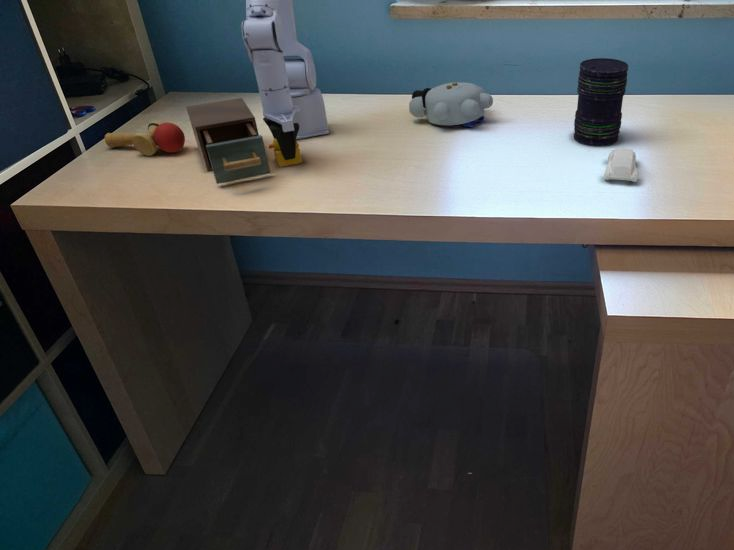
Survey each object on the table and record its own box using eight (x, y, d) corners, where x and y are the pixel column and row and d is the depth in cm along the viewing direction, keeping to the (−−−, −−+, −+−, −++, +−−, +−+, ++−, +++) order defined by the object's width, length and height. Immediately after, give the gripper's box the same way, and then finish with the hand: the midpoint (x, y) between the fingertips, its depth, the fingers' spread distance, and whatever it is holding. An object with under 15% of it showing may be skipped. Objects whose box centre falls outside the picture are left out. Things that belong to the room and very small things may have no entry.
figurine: (507, 113, 149) (440, 107, 159) (504, 75, 144) (436, 71, 154) (463, 137, 138) (395, 128, 149) (459, 96, 133) (388, 90, 144)
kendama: (102, 161, 136) (174, 155, 131) (91, 130, 133) (164, 123, 128) (127, 153, 142) (196, 147, 138) (116, 124, 139) (187, 116, 135)
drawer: (276, 182, 121) (267, 145, 116) (221, 193, 118) (210, 156, 113) (257, 151, 133) (249, 116, 128) (207, 160, 130) (197, 125, 125)
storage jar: (597, 126, 143) (605, 55, 134) (628, 139, 137) (639, 66, 127) (563, 136, 139) (569, 63, 129) (594, 150, 132) (602, 75, 123)
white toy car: (637, 186, 119) (641, 162, 116) (603, 184, 120) (606, 160, 117) (637, 160, 128) (640, 138, 125) (605, 158, 129) (608, 136, 126)
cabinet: (264, 160, 131) (254, 117, 126) (207, 171, 128) (194, 127, 122) (251, 138, 141) (241, 97, 135) (198, 148, 137) (185, 106, 131)
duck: (298, 156, 133) (293, 131, 129) (302, 162, 130) (298, 137, 127) (271, 162, 131) (265, 136, 127) (274, 168, 128) (269, 142, 125)
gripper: (304, 93, 117) (316, 164, 126) (285, 73, 127) (298, 139, 136) (265, 99, 115) (281, 171, 124) (249, 78, 125) (265, 146, 134)
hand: (287, 155), depth 130 cm, fingers closed on duck, 3 cm apart
